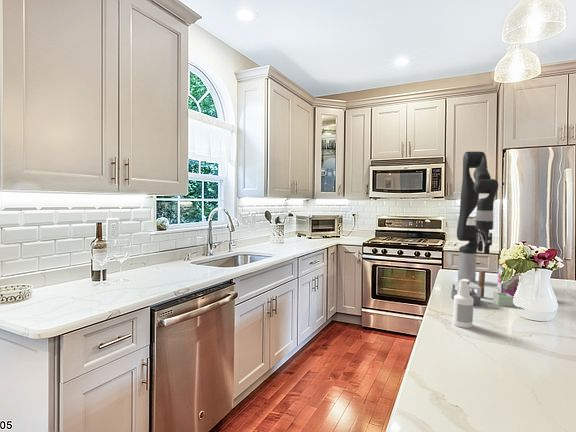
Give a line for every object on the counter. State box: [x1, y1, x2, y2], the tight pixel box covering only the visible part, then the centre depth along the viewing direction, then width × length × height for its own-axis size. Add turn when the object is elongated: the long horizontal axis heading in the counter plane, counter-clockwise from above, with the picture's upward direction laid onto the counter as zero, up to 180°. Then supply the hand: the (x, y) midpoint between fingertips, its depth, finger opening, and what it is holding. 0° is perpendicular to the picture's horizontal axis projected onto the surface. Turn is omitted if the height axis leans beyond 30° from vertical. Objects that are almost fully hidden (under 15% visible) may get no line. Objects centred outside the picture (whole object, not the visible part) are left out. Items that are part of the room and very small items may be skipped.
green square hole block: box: [492, 291, 514, 307], centre depth 166 cm, size 6×6×5 cm
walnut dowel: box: [478, 270, 486, 299], centre depth 177 cm, size 3×3×13 cm
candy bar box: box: [496, 264, 519, 296], centre depth 180 cm, size 11×5×16 cm, turn 84°
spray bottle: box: [452, 279, 474, 329], centre depth 139 cm, size 7×7×18 cm
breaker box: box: [450, 280, 482, 306], centre depth 170 cm, size 10×10×8 cm
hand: (483, 252), depth 176 cm, fingers open, 8 cm apart
